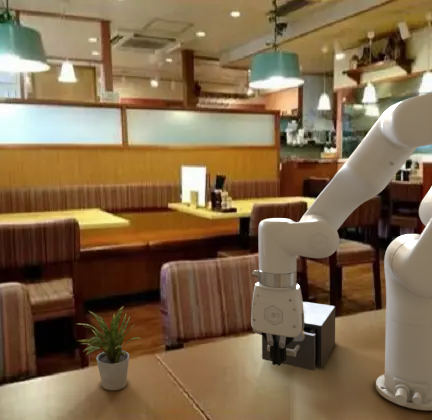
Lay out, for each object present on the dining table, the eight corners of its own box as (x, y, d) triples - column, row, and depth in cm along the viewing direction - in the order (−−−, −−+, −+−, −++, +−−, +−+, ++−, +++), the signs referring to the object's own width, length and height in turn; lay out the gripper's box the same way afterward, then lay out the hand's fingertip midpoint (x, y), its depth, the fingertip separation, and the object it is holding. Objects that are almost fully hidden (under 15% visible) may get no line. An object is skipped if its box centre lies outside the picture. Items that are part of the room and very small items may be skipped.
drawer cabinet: (321, 368, 99) (321, 325, 98) (265, 355, 106) (265, 316, 105) (335, 343, 111) (335, 306, 110) (284, 334, 118) (284, 298, 117)
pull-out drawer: (308, 380, 92) (308, 343, 91) (254, 367, 98) (254, 333, 98) (327, 347, 107) (328, 316, 106) (280, 338, 114) (280, 308, 113)
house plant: (92, 365, 105) (88, 298, 103) (149, 367, 103) (146, 298, 101) (72, 397, 91) (67, 320, 89) (138, 400, 89) (134, 321, 87)
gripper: (236, 278, 92) (238, 362, 95) (310, 287, 84) (310, 379, 86) (249, 270, 99) (250, 349, 101) (319, 277, 91) (319, 363, 93)
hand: (278, 362), depth 94 cm, fingers closed
